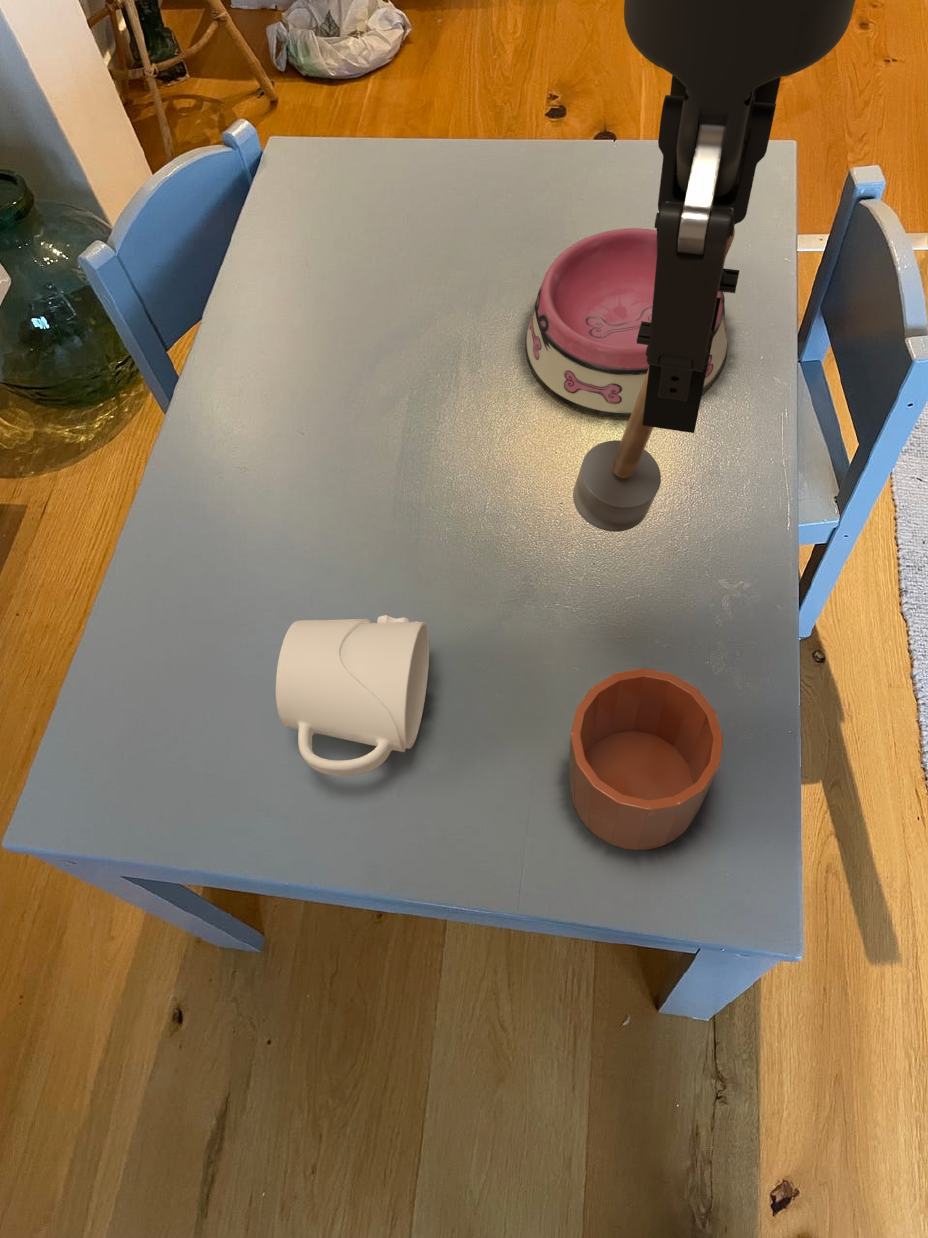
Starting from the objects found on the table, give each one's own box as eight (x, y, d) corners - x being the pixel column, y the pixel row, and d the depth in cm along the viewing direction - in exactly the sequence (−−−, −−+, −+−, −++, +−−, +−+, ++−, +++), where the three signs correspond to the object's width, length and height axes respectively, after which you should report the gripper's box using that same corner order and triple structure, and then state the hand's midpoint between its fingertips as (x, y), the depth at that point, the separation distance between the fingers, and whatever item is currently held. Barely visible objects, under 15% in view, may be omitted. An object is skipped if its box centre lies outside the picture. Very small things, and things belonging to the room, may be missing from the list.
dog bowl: (513, 287, 91) (510, 228, 85) (702, 260, 91) (712, 199, 85) (540, 433, 82) (538, 379, 76) (749, 404, 82) (764, 348, 76)
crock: (708, 740, 68) (730, 684, 59) (690, 863, 64) (711, 823, 55) (583, 715, 69) (587, 657, 61) (558, 833, 65) (558, 790, 57)
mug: (319, 640, 74) (294, 591, 67) (434, 649, 73) (421, 600, 66) (286, 784, 69) (255, 746, 62) (409, 797, 68) (392, 760, 61)
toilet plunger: (655, 478, 59) (786, 196, 40) (640, 541, 57) (771, 275, 37) (582, 457, 59) (677, 167, 40) (564, 519, 57) (656, 244, 38)
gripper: (670, -217, 32) (627, 302, 53) (584, 23, 26) (573, 506, 47) (897, -215, 31) (762, 319, 52) (863, 41, 25) (725, 532, 45)
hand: (672, 408), depth 49 cm, fingers closed on toilet plunger
